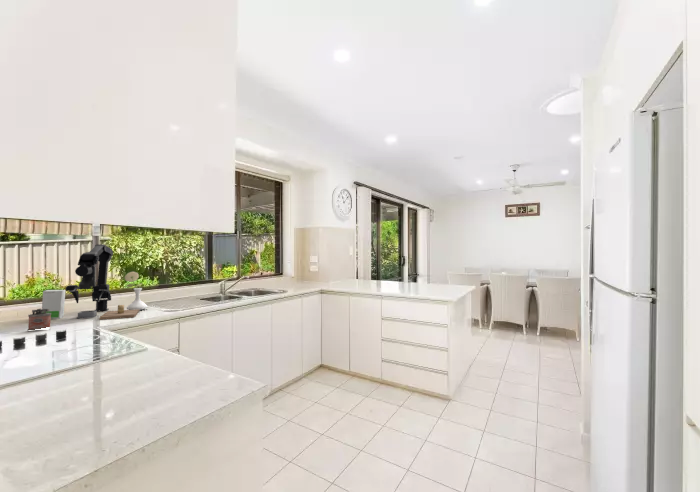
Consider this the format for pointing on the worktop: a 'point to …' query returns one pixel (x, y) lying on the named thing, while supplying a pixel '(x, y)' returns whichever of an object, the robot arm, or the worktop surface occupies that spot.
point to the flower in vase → (137, 303)
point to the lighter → (39, 319)
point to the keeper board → (119, 313)
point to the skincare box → (54, 302)
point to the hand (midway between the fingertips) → (87, 302)
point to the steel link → (87, 314)
